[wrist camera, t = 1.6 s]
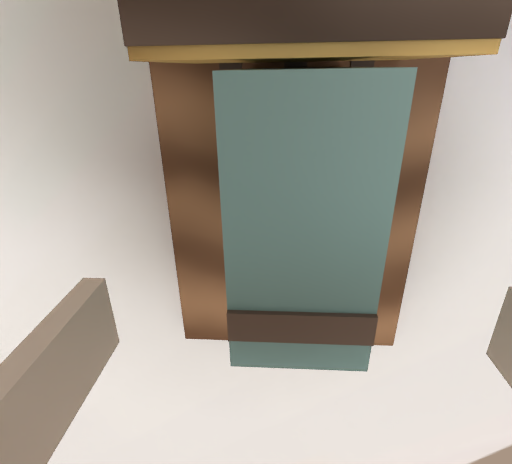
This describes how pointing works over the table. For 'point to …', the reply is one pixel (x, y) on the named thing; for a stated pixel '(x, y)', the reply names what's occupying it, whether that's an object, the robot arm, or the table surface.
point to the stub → (308, 208)
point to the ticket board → (290, 56)
